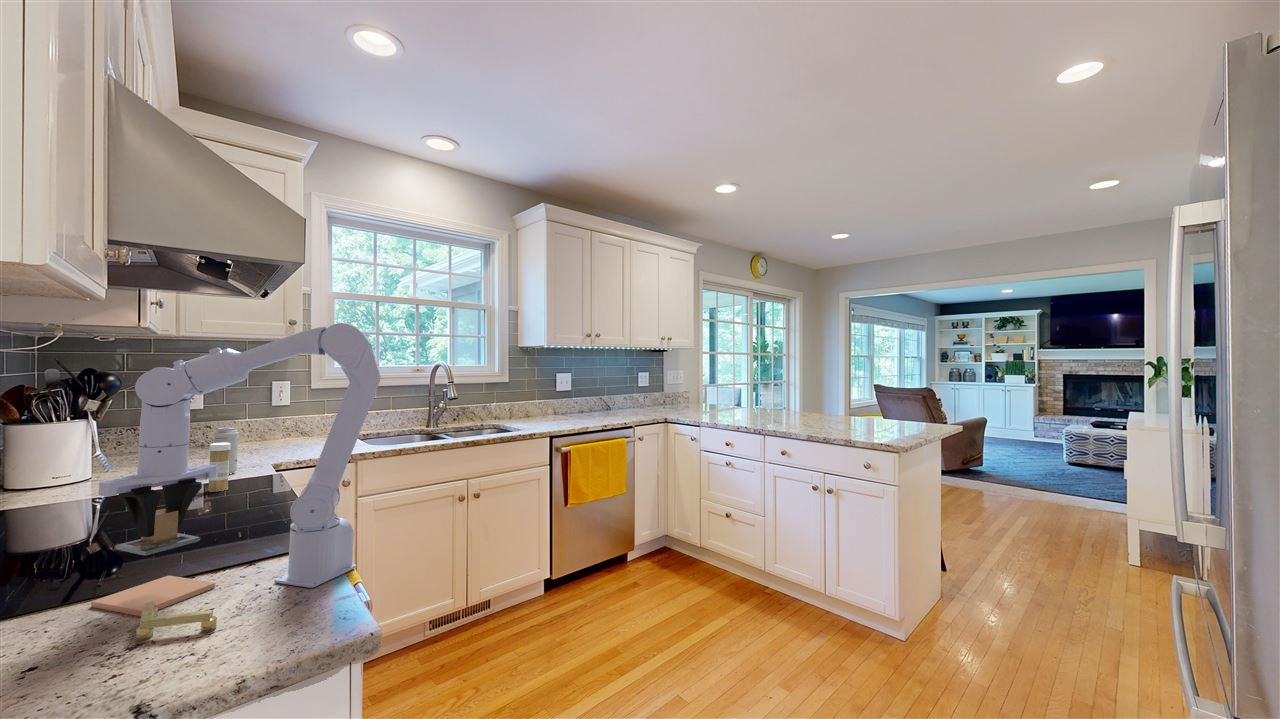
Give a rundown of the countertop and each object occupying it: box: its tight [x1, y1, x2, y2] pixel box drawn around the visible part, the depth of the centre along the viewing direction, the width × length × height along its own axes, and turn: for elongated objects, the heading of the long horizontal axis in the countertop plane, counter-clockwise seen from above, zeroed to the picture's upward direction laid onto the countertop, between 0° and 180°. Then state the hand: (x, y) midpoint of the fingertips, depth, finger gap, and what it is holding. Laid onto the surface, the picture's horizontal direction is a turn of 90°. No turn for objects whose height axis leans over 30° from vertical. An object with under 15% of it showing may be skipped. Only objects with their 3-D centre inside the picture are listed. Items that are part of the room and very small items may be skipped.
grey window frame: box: [115, 508, 201, 557], centre depth 78 cm, size 7×7×5 cm
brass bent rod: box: [135, 601, 218, 642], centre depth 68 cm, size 6×12×2 cm, turn 77°
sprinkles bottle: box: [207, 442, 230, 493], centre depth 143 cm, size 5×5×14 cm
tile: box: [90, 575, 216, 617], centre depth 78 cm, size 10×10×1 cm
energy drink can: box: [213, 426, 240, 474], centre depth 164 cm, size 6×6×15 cm
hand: (159, 532), depth 78 cm, fingers closed on grey window frame, 3 cm apart
